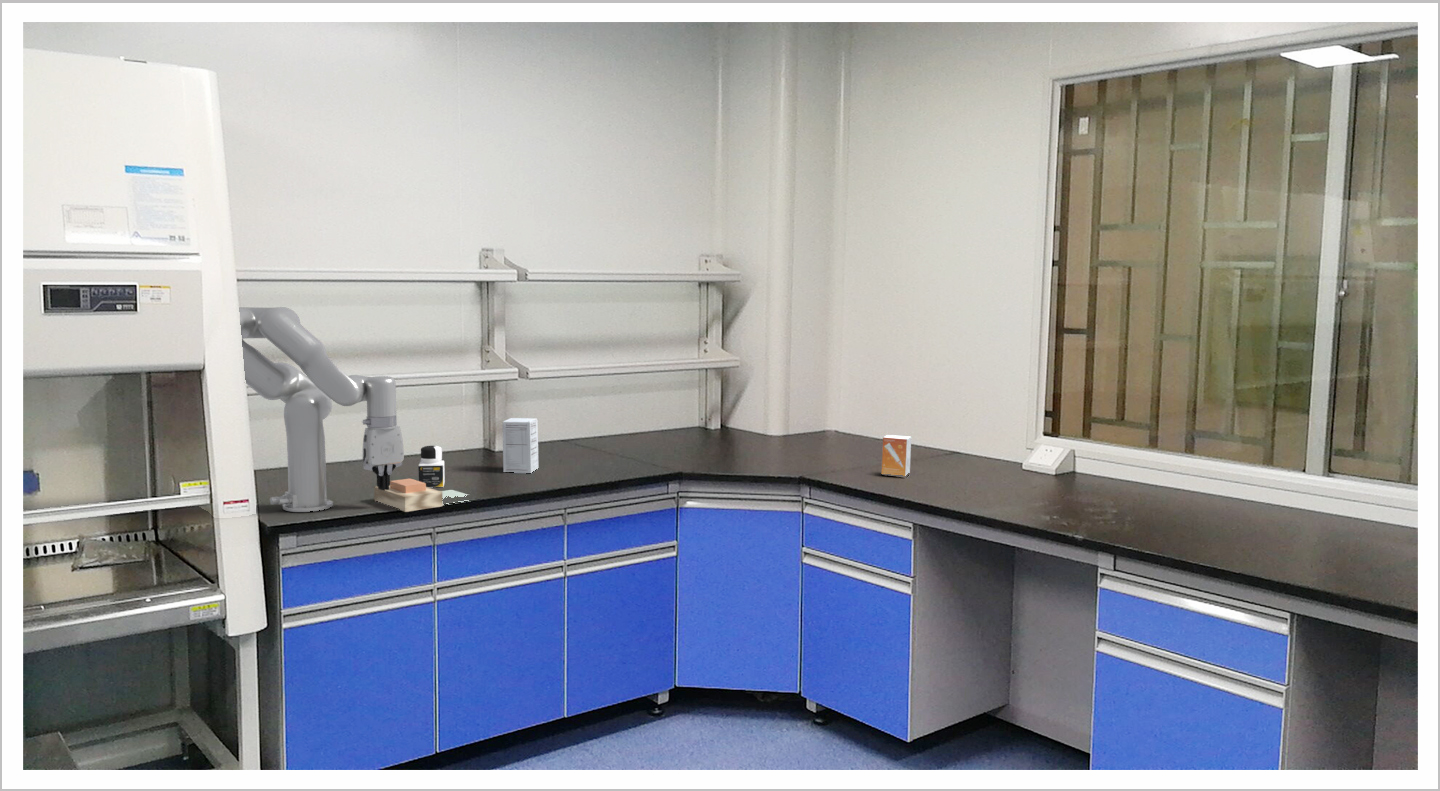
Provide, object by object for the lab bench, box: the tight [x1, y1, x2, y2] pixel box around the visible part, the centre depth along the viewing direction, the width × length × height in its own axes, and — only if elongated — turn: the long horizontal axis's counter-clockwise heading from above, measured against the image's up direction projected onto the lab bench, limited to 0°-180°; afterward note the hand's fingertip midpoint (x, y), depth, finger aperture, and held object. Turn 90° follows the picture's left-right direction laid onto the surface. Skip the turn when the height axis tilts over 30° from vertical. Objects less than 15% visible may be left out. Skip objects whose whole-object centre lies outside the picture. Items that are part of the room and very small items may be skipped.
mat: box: [440, 489, 470, 506], centre depth 303 cm, size 12×16×1 cm
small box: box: [880, 434, 912, 476], centre depth 347 cm, size 8×6×13 cm
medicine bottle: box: [417, 445, 446, 489], centre depth 319 cm, size 7×7×12 cm
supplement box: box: [502, 417, 539, 474], centre depth 345 cm, size 10×9×17 cm
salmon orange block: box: [390, 478, 426, 493], centre depth 294 cm, size 9×6×2 cm, turn 44°
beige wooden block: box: [373, 485, 444, 513], centre depth 295 cm, size 11×18×4 cm, turn 44°
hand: (383, 489), depth 289 cm, fingers closed
